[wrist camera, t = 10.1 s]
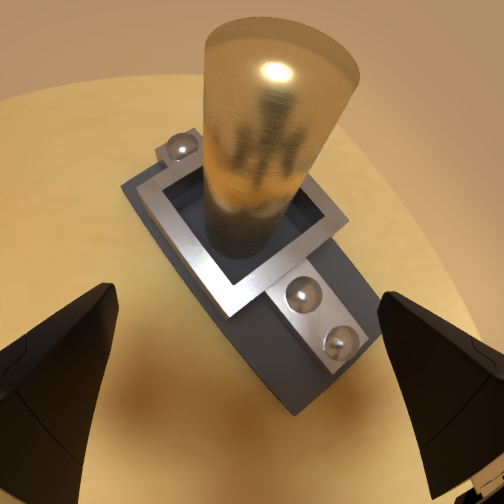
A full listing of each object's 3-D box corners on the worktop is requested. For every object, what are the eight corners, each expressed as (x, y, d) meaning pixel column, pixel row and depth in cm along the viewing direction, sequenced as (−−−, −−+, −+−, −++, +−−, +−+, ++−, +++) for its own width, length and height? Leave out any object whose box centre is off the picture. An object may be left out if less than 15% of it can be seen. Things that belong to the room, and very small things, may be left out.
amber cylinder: (280, 248, 18) (387, 99, 6) (216, 268, 17) (232, 112, 5) (257, 191, 19) (315, 18, 7) (197, 207, 18) (190, 22, 6)
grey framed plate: (381, 312, 18) (413, 305, 14) (291, 399, 15) (310, 413, 12) (223, 126, 20) (226, 92, 17) (126, 182, 18) (112, 151, 14)
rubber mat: (389, 319, 18) (394, 319, 18) (292, 414, 16) (294, 416, 15) (228, 128, 21) (228, 123, 20) (122, 190, 18) (120, 186, 18)
